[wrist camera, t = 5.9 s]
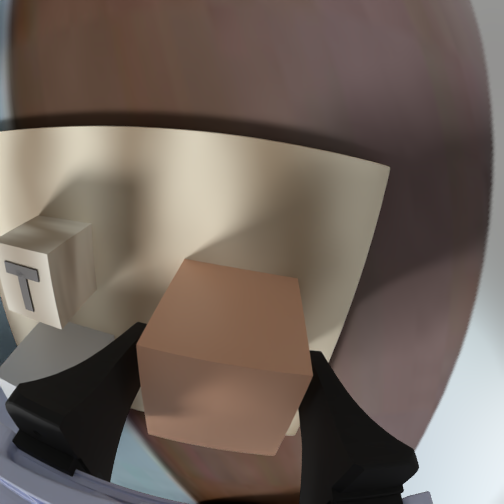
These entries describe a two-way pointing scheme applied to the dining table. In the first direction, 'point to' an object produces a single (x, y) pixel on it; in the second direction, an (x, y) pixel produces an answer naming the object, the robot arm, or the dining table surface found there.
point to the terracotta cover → (225, 359)
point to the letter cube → (48, 269)
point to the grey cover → (50, 353)
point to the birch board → (195, 215)
